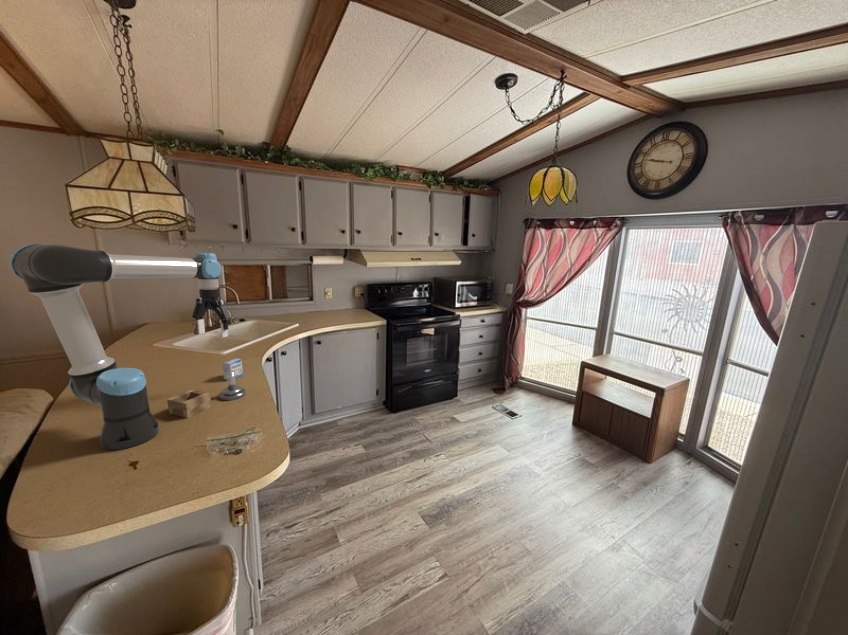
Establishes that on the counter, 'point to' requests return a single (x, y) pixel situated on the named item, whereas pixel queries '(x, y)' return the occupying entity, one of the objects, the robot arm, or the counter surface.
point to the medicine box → (233, 367)
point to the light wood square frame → (189, 403)
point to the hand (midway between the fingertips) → (213, 335)
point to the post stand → (231, 389)
